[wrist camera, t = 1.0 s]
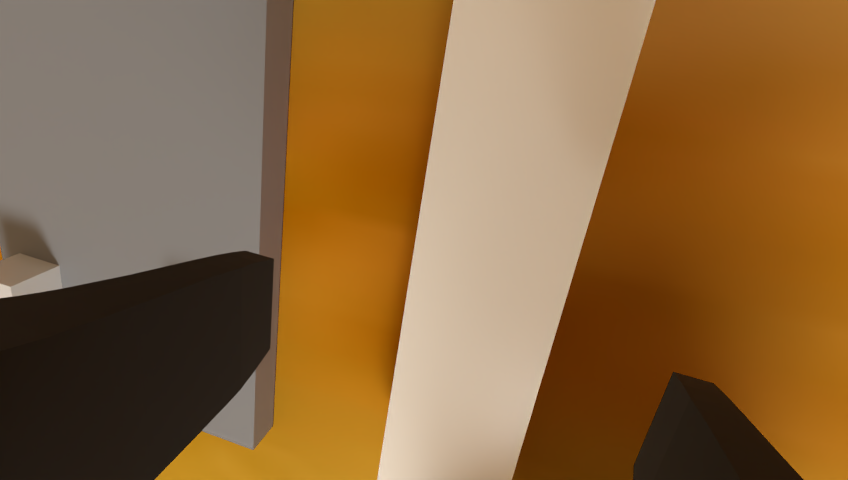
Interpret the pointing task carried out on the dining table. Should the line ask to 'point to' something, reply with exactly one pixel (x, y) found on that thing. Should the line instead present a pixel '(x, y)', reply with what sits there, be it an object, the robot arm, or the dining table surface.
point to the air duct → (503, 223)
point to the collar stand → (144, 148)
